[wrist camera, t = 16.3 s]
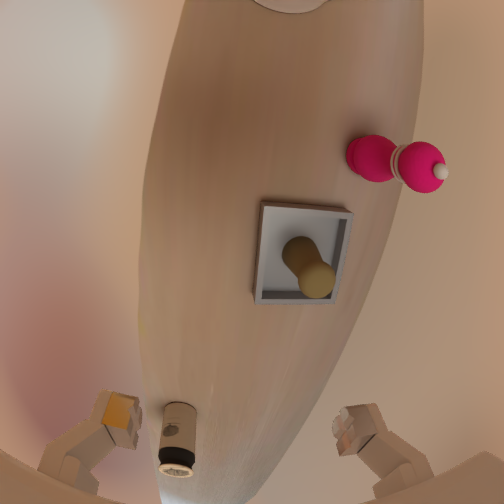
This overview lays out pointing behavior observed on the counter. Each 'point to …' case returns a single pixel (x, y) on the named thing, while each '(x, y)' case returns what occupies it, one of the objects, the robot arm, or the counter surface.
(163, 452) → the travel mug
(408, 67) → the counter surface
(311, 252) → the brown pawn
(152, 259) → the counter surface
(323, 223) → the tray
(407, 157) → the pepper mill
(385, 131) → the counter surface
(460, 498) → the robot arm
